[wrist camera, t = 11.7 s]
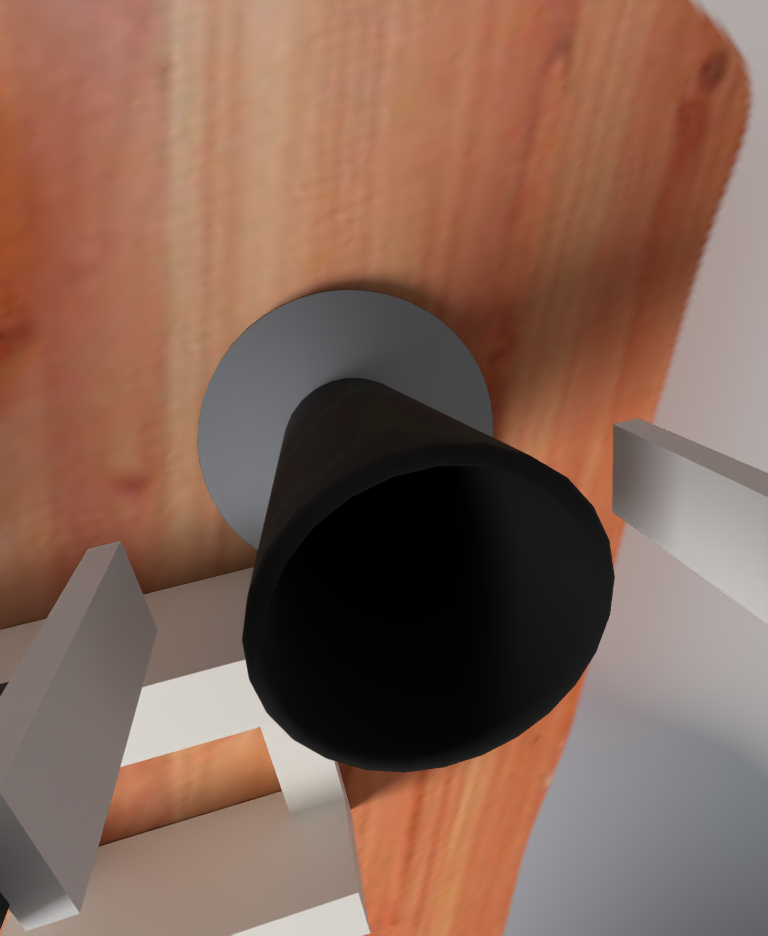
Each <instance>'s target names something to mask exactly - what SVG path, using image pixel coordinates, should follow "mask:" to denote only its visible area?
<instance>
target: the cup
mask: <svg viewBox="0 0 768 936" xmlns="http://www.w3.org/2000/svg"><path fill="white" fill-rule="evenodd" d="M614 578H615V576H614V569H613V563H612V556H611V549H610V542H609V539H608V537H607V534H606V532H605V530H604V528H603V526H602V524H601V522H600V519H599V517H598V515H597V513H596V511H595V509H594V507H593V505H592V504H591V503H590V502H589V501H588V500H587V499H586V498H585V497H584V496H583V494H582V493H581V492H580V491H579V490H578V489H577V488H576V487H575V486H574V485H573V483H572V482H571V481H570V480H569V479H568V478H567V477H565V476H564V475H562V474H560V473H559V472H557V471H555V470H553V469H552V468H550V467H548V466H547V465H545V464H543V463H542V462H540V461H538V460H537V459H535V458H533V457H532V456H530V455H528V454H526V453H524V452H521V451H519V450H517V449H515V448H513V447H511V446H509V445H507V444H505V443H503V442H501V441H499V440H497V439H495V438H493V437H491V436H489V435H487V434H485V433H483V432H480V431H478V430H476V429H474V428H472V427H470V426H468V425H466V424H464V423H462V422H460V421H458V420H456V419H454V418H452V417H450V416H448V415H446V414H444V413H441V412H439V411H437V410H435V409H433V408H431V407H429V406H427V405H425V404H423V403H421V402H419V401H417V400H415V399H413V398H411V397H409V396H407V395H405V394H403V393H400V392H398V391H396V390H394V389H392V388H390V387H388V386H386V385H384V384H382V383H379V382H376V381H372V380H369V379H365V378H345V379H340V380H336V381H331V382H329V383H327V384H325V385H323V386H321V387H319V388H316V389H315V390H314V391H312V392H311V393H310V394H309V395H307V396H306V397H305V398H304V399H303V400H302V401H301V402H300V403H299V405H298V406H297V407H296V409H295V410H294V411H293V413H292V414H291V417H290V419H289V422H288V424H287V427H286V429H285V433H284V438H283V442H282V446H281V451H280V455H279V460H278V464H277V468H276V473H275V477H274V482H273V486H272V490H271V495H270V499H269V503H268V508H267V512H266V517H265V521H264V525H263V530H262V534H261V539H260V543H259V547H258V552H257V556H256V560H255V565H254V569H253V574H252V578H251V582H250V587H249V591H248V596H247V602H246V610H245V619H244V627H243V635H242V644H243V649H244V655H245V660H246V666H247V672H248V677H249V681H250V683H251V684H252V686H253V688H254V690H255V692H256V694H257V696H258V698H259V700H260V701H261V703H262V705H263V707H264V709H265V711H266V713H267V714H268V715H269V716H270V717H271V718H272V719H273V720H274V721H275V722H276V723H277V724H278V725H279V726H280V727H281V728H282V729H283V730H284V731H285V732H286V733H287V734H288V735H289V736H290V737H291V738H292V739H293V740H294V741H296V742H298V743H300V744H301V745H303V746H305V747H307V748H309V749H310V750H312V751H314V752H316V753H317V754H319V755H321V756H323V757H324V758H326V759H329V760H333V761H336V762H340V763H343V764H347V765H351V766H354V767H358V768H361V769H365V770H375V771H392V772H411V771H419V770H426V769H434V768H442V767H446V766H449V765H453V764H456V763H459V762H462V761H465V760H468V759H472V758H475V757H478V756H481V755H483V754H485V753H487V752H489V751H491V750H493V749H495V748H497V747H499V746H501V745H503V744H505V743H507V742H509V741H510V740H512V739H514V738H516V737H518V736H519V735H521V734H522V733H523V732H525V731H526V730H527V729H529V728H530V727H531V726H533V725H534V724H535V723H537V722H538V721H539V720H541V719H542V718H543V717H545V716H546V715H547V714H549V713H550V712H551V710H552V709H553V708H554V707H555V706H556V705H557V704H558V703H559V702H560V701H561V700H562V699H563V698H564V697H565V695H566V694H567V693H568V692H569V691H570V690H571V689H572V688H573V687H574V686H575V685H576V683H577V682H578V680H579V678H580V677H581V675H582V674H583V672H584V671H585V669H586V667H587V666H588V664H589V663H590V661H591V659H592V658H593V656H594V655H595V653H596V651H597V648H598V645H599V643H600V640H601V637H602V635H603V632H604V629H605V627H606V624H607V621H608V619H609V616H610V611H611V602H612V594H613V586H614Z"/></svg>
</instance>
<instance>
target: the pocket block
mask: <svg viewBox="0 0 768 936" xmlns="http://www.w3.org/2000/svg"><path fill="white" fill-rule="evenodd" d="M253 569H254V567H252V568H248V569H244V570H240V571H236V572H232V573H228V574H224V575H220V576H216V577H212V578H208V579H204V580H200V581H195V582H191V583H187V584H183V585H179V586H175V587H171V588H167V589H163V590H159V591H155V592H151V593H147V594H143V595H144V598H145V600H146V603H147V605H148V608H149V610H150V612H151V615H152V617H153V620H154V622H155V625H156V627H157V629H158V632H157V635H156V639H155V643H154V646H153V650H152V654H151V657H150V661H149V665H148V668H147V672H146V675H145V679H144V683H143V686H142V690H141V694H140V697H139V701H138V704H137V708H136V712H135V715H134V719H133V723H132V726H131V730H130V734H129V737H128V741H127V744H126V748H125V752H124V755H123V759H122V763H121V766H120V767H122V766H126V765H129V764H133V763H136V762H140V761H143V760H147V759H150V758H153V757H157V756H160V755H164V754H167V753H171V752H174V751H178V750H181V749H185V748H188V747H192V746H195V745H199V744H202V743H206V742H209V741H213V740H216V739H220V738H223V737H227V736H230V735H234V734H237V733H241V732H244V731H248V730H251V729H254V728H258V727H261V730H262V733H263V736H264V739H265V742H266V745H267V748H268V751H269V754H270V756H271V759H272V762H273V765H274V768H275V771H276V774H277V777H278V780H279V783H280V786H281V789H282V791H280V792H276V793H273V794H270V795H267V796H263V797H260V798H257V799H253V800H250V801H247V802H244V803H240V804H237V805H234V806H230V807H227V808H224V809H221V810H217V811H214V812H211V813H207V814H204V815H201V816H198V817H194V818H191V819H188V820H184V821H181V822H178V823H175V824H171V825H168V826H165V827H161V828H158V829H155V830H152V831H148V832H145V833H142V834H138V835H135V836H132V837H129V838H125V839H122V840H119V841H115V842H112V843H109V844H106V845H102V846H99V847H98V850H97V853H96V857H95V861H94V864H93V868H92V872H91V875H90V879H89V882H88V886H87V890H86V893H85V897H84V901H83V904H82V908H81V912H80V914H77V915H74V916H71V917H68V918H65V919H62V920H59V921H56V922H53V923H49V924H46V925H43V926H40V927H37V928H34V929H31V930H28V931H25V930H24V928H23V927H22V926H21V924H20V923H19V922H18V920H17V919H16V918H15V916H14V915H13V914H12V912H11V911H10V914H9V916H8V919H7V921H6V924H5V926H4V929H3V931H2V934H1V936H363V935H366V934H369V933H370V929H369V923H368V916H367V910H366V904H365V897H364V891H363V884H362V878H361V871H360V865H359V859H358V852H357V846H356V839H355V833H354V826H353V820H352V813H351V809H350V805H349V801H348V798H347V794H346V790H345V787H344V783H343V779H342V776H341V772H340V768H339V765H338V762H336V761H333V760H329V759H326V758H324V757H323V756H321V755H319V754H317V753H316V752H314V751H312V750H310V749H309V748H307V747H305V746H303V745H301V744H300V743H298V742H296V741H294V740H293V739H292V738H291V737H290V736H289V735H288V734H287V733H286V732H285V731H284V730H283V729H282V728H281V727H280V726H279V725H278V724H277V723H276V722H275V721H274V720H273V719H272V718H271V717H270V716H269V715H268V714H267V713H266V711H265V709H264V707H263V705H262V703H261V701H260V700H259V698H258V696H257V694H256V692H255V690H254V688H253V686H252V684H251V683H250V681H249V677H248V672H247V666H246V660H245V655H244V649H243V644H242V635H243V627H244V619H245V610H246V602H247V596H248V591H249V587H250V582H251V578H252V574H253ZM46 619H47V618H46ZM46 619H42V620H38V621H34V622H30V623H26V624H22V625H18V626H14V627H10V628H6V629H2V630H0V684H1V683H5V682H9V681H10V679H11V678H12V676H13V674H14V673H15V671H16V669H17V667H18V666H19V664H20V662H21V661H22V659H23V657H24V656H25V654H26V652H27V651H28V649H29V647H30V646H31V644H32V642H33V640H34V639H35V637H36V635H37V634H38V632H39V630H40V629H41V627H42V625H43V624H44V622H45V620H46Z"/></svg>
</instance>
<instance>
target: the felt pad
mask: <svg viewBox="0 0 768 936" xmlns="http://www.w3.org/2000/svg"><path fill="white" fill-rule="evenodd" d="M345 378H365V379H369V380H372V381H376V382H379V383H382V384H384V385H386V386H388V387H390V388H392V389H394V390H396V391H398V392H400V393H403V394H405V395H407V396H409V397H411V398H413V399H415V400H417V401H419V402H421V403H423V404H425V405H427V406H429V407H431V408H433V409H435V410H437V411H439V412H441V413H444V414H446V415H448V416H450V417H452V418H454V419H456V420H458V421H460V422H462V423H464V424H466V425H468V426H470V427H472V428H474V429H476V430H478V431H480V432H483V433H485V434H487V435H489V436H491V437H493V414H492V408H491V402H490V396H489V393H488V389H487V386H486V383H485V380H484V377H483V375H482V373H481V371H480V369H479V366H478V364H477V362H476V361H475V359H474V358H473V356H472V354H471V353H470V351H469V350H468V348H467V347H466V345H465V344H464V343H463V342H462V341H461V340H460V338H459V337H458V336H457V335H456V334H455V333H454V332H453V331H452V330H451V329H450V328H449V327H448V326H447V325H445V324H444V323H443V322H442V321H441V320H440V319H438V318H437V317H435V316H434V315H432V314H431V313H429V312H428V311H426V310H425V309H423V308H421V307H418V306H416V305H414V304H412V303H410V302H408V301H406V300H403V299H400V298H396V297H393V296H390V295H387V294H382V293H376V292H370V291H364V290H334V291H325V292H319V293H315V294H311V295H307V296H304V297H300V298H298V299H295V300H293V301H290V302H288V303H286V304H283V305H281V306H279V307H278V308H276V309H274V310H272V311H271V312H269V313H267V314H266V315H264V316H263V317H261V318H260V319H259V320H257V321H256V322H255V323H254V324H252V325H251V326H250V327H249V328H247V329H246V330H245V331H244V332H243V334H242V335H241V336H240V337H239V338H238V339H237V340H236V341H235V342H234V343H233V344H232V345H231V347H230V348H229V350H228V351H227V352H226V354H225V355H224V357H223V358H222V359H221V361H220V363H219V365H218V367H217V369H216V371H215V373H214V374H213V376H212V378H211V380H210V382H209V385H208V388H207V391H206V394H205V396H204V399H203V402H202V407H201V412H200V418H199V425H198V450H199V461H200V465H201V469H202V473H203V478H204V481H205V483H206V486H207V488H208V491H209V494H210V496H211V498H212V500H213V502H214V503H215V505H216V507H217V509H218V510H219V512H220V514H221V515H222V516H223V518H224V519H225V520H226V522H227V523H228V524H229V525H230V527H231V528H232V529H233V530H234V531H235V532H236V533H237V534H238V535H239V536H240V537H241V538H242V539H243V540H244V541H245V542H247V543H248V544H249V545H251V546H252V547H253V548H255V549H256V550H257V551H258V547H259V543H260V539H261V534H262V530H263V525H264V521H265V517H266V512H267V508H268V503H269V499H270V495H271V490H272V486H273V482H274V477H275V473H276V468H277V464H278V460H279V455H280V451H281V446H282V442H283V438H284V433H285V429H286V427H287V424H288V422H289V419H290V417H291V414H292V413H293V411H294V410H295V409H296V407H297V406H298V405H299V403H300V402H301V401H302V400H303V399H304V398H305V397H306V396H307V395H309V394H310V393H311V392H312V391H314V390H315V389H316V388H319V387H321V386H323V385H325V384H327V383H329V382H331V381H336V380H340V379H345Z"/></svg>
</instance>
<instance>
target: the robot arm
mask: <svg viewBox="0 0 768 936" xmlns="http://www.w3.org/2000/svg"><path fill="white" fill-rule="evenodd" d="M612 512H613V513H615V514H616V515H617V516H619V517H620V518H621V519H623V520H624V521H626V522H627V523H628V524H630V525H631V526H633V527H634V528H635V529H637V530H638V531H639V532H641V533H642V534H644V535H645V536H646V537H648V538H649V539H651V540H652V541H654V542H655V543H656V544H657V545H659V546H661V547H662V548H663V549H665V550H666V551H667V552H669V553H670V554H671V555H673V556H674V557H675V558H677V559H678V560H680V561H681V562H682V563H684V564H685V565H687V566H688V567H689V568H691V569H692V570H693V571H695V572H696V573H698V574H699V575H700V576H702V577H703V578H705V579H706V580H707V581H709V582H710V583H711V584H713V585H714V586H716V587H717V588H718V589H720V590H721V591H722V592H724V593H725V594H727V595H728V596H729V597H731V598H732V599H734V600H735V601H736V602H738V603H739V604H740V605H742V606H743V607H745V608H746V609H748V610H749V611H750V612H752V613H753V614H754V615H756V616H757V617H759V618H760V619H761V620H763V621H764V622H765V623H767V624H768V473H766V472H764V471H761V470H759V469H757V468H754V467H752V466H750V465H747V464H745V463H742V462H740V461H738V460H735V459H733V458H731V457H728V456H726V455H723V454H721V453H719V452H717V451H714V450H712V449H709V448H707V447H705V446H703V445H700V444H698V443H695V442H693V441H691V440H688V439H686V438H684V437H681V436H679V435H677V434H674V433H672V432H670V431H667V430H665V429H662V428H660V427H658V426H655V425H653V424H651V423H648V422H646V421H644V420H641V419H639V418H638V419H634V420H629V421H625V422H621V423H617V424H613V497H612ZM157 632H158V629H157V627H156V625H155V622H154V620H153V617H152V615H151V612H150V610H149V608H148V605H147V603H146V600H145V598H144V595H143V593H142V591H141V588H140V586H139V583H138V581H137V578H136V576H135V574H134V571H133V569H132V566H131V564H130V561H129V559H128V557H127V554H126V552H125V549H124V547H123V544H122V542H121V541H118V542H113V543H109V544H105V545H101V546H96V547H92V548H88V549H87V551H86V553H85V554H84V556H83V558H82V560H81V561H80V563H79V565H78V566H77V568H76V570H75V571H74V573H73V575H72V576H71V578H70V580H69V581H68V583H67V585H66V587H65V588H64V590H63V592H62V593H61V595H60V597H59V598H58V600H57V602H56V603H55V605H54V607H53V608H52V610H51V612H50V613H49V615H48V617H47V619H46V620H45V622H44V624H43V625H42V627H41V629H40V630H39V632H38V634H37V635H36V637H35V639H34V640H33V642H32V644H31V646H30V647H29V649H28V651H27V652H26V654H25V656H24V657H23V659H22V661H21V662H20V664H19V666H18V667H17V669H16V671H15V673H14V674H13V676H12V678H11V679H10V681H9V682H5V683H1V684H0V929H1V926H2V924H3V921H4V919H5V916H6V913H7V911H8V908H9V910H10V911H11V912H12V914H13V915H14V916H15V918H16V919H17V920H18V922H19V923H20V924H21V926H22V927H23V928H24V930H25V931H28V930H31V929H34V928H37V927H40V926H43V925H46V924H49V923H53V922H56V921H59V920H62V919H65V918H68V917H71V916H74V915H77V914H80V912H81V908H82V904H83V901H84V897H85V893H86V890H87V886H88V882H89V879H90V875H91V872H92V868H93V864H94V861H95V857H96V853H97V850H98V846H99V843H100V839H101V835H102V832H103V828H104V824H105V821H106V817H107V813H108V810H109V806H110V803H111V799H112V795H113V792H114V788H115V784H116V781H117V777H118V773H119V770H120V766H121V763H122V759H123V755H124V752H125V748H126V744H127V741H128V737H129V734H130V730H131V726H132V723H133V719H134V715H135V712H136V708H137V704H138V701H139V697H140V694H141V690H142V686H143V683H144V679H145V675H146V672H147V668H148V665H149V661H150V657H151V654H152V650H153V646H154V643H155V639H156V635H157Z"/></svg>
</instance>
